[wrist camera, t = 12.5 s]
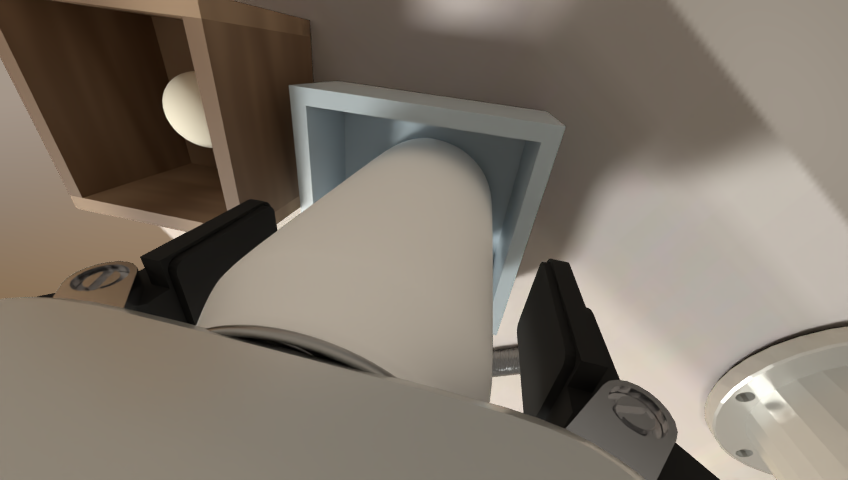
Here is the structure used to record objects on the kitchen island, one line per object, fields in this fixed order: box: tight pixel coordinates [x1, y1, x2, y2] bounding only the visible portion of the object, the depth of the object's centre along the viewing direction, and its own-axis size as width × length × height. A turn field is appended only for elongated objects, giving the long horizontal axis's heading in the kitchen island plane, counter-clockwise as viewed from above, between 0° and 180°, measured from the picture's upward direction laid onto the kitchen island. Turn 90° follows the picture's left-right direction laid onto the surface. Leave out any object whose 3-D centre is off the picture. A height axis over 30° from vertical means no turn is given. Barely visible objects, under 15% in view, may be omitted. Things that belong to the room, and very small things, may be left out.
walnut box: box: [0, 0, 313, 232], centre depth 13 cm, size 8×8×6 cm
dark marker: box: [492, 347, 520, 377], centre depth 21 cm, size 12×2×2 cm, turn 113°
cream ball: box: [162, 71, 212, 148], centre depth 14 cm, size 3×3×3 cm
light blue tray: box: [289, 81, 566, 335], centre depth 15 cm, size 10×10×4 cm
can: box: [196, 138, 493, 403], centre depth 11 cm, size 6×6×12 cm
